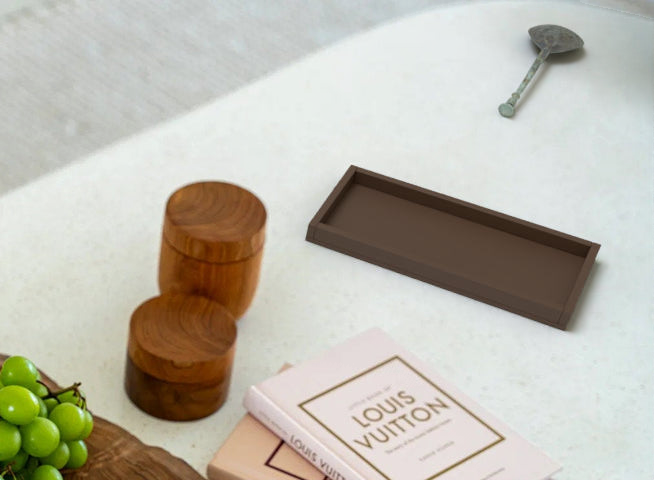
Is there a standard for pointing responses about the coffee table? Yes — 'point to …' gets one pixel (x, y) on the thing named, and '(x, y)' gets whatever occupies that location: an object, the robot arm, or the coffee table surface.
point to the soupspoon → (543, 55)
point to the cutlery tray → (455, 245)
